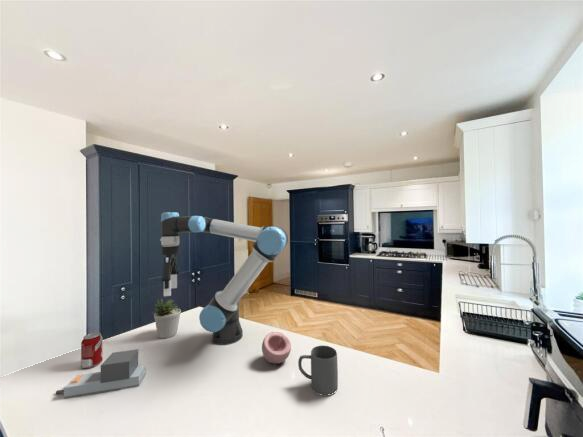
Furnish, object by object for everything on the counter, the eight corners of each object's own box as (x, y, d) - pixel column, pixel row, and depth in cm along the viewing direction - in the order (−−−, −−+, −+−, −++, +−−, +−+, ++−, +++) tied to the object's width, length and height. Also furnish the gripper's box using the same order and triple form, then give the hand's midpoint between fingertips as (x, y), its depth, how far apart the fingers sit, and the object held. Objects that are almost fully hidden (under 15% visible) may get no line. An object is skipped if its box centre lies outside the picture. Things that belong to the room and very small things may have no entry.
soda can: (90, 370, 93) (90, 339, 94) (76, 368, 95) (76, 338, 95) (106, 360, 100) (106, 332, 100) (93, 359, 101) (93, 331, 102)
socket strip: (145, 374, 90) (145, 363, 90) (138, 386, 84) (138, 374, 84) (63, 387, 84) (63, 375, 84) (48, 401, 77) (49, 388, 77)
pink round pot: (273, 374, 89) (273, 343, 89) (256, 361, 98) (256, 333, 98) (297, 361, 97) (296, 333, 97) (279, 350, 106) (278, 324, 106)
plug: (138, 370, 90) (138, 349, 91) (129, 384, 82) (129, 361, 82) (112, 374, 88) (112, 352, 88) (100, 389, 80) (100, 365, 80)
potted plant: (158, 330, 129) (158, 293, 130) (184, 328, 130) (184, 292, 131) (146, 341, 116) (146, 300, 117) (175, 339, 118) (175, 299, 119)
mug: (337, 379, 85) (336, 346, 86) (338, 398, 76) (337, 360, 77) (300, 376, 87) (299, 343, 88) (296, 393, 78) (296, 357, 79)
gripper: (167, 244, 120) (168, 286, 120) (153, 248, 96) (153, 300, 96) (183, 243, 123) (184, 284, 122) (173, 247, 99) (174, 298, 98)
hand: (170, 291), depth 109 cm, fingers open, 13 cm apart
